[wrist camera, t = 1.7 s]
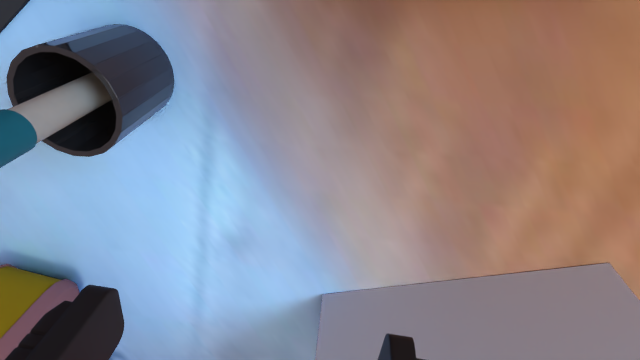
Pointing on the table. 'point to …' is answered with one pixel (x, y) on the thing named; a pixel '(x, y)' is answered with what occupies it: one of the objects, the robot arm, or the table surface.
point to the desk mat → (9, 10)
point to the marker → (48, 115)
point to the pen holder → (111, 69)
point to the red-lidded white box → (490, 318)
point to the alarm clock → (27, 303)
